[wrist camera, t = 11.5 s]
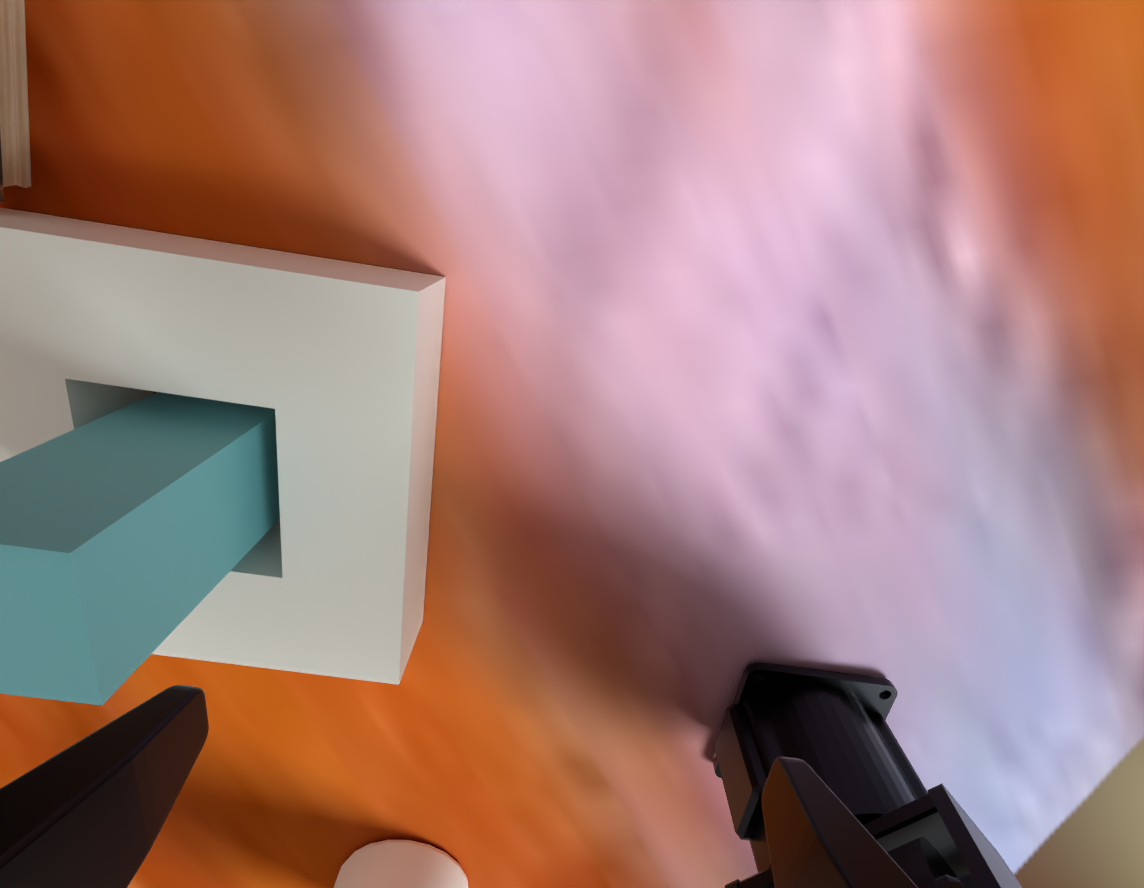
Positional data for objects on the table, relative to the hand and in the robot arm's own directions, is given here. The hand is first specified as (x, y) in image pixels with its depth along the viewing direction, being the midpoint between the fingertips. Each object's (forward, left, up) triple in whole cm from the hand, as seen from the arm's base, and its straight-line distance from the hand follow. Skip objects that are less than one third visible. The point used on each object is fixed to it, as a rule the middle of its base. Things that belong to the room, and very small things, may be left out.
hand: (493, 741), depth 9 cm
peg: (+11, +2, -13) cm, 17 cm away
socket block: (+11, +2, -13) cm, 17 cm away
